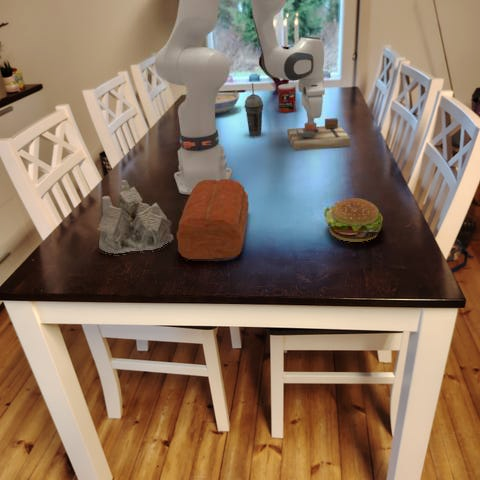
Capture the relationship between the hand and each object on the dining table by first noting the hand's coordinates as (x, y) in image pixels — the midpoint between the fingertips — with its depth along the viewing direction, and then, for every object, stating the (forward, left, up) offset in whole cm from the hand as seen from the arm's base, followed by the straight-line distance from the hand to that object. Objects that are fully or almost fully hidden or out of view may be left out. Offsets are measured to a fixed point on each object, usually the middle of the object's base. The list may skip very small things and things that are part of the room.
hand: (310, 123), depth 172 cm
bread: (-66, +36, -6) cm, 76 cm away
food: (-71, +3, -6) cm, 71 cm away
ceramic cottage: (-67, +56, -6) cm, 88 cm away
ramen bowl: (+48, +35, -6) cm, 60 cm away
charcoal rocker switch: (-7, +3, -1) cm, 8 cm away
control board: (-4, -2, -6) cm, 7 cm away
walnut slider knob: (+1, -8, -2) cm, 8 cm away
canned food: (+41, +3, -6) cm, 41 cm away
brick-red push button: (0, 0, -2) cm, 2 cm away
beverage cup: (+10, +20, -6) cm, 23 cm away
